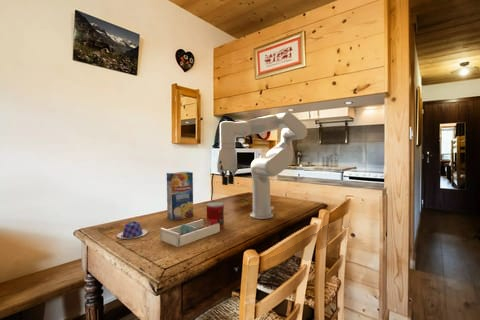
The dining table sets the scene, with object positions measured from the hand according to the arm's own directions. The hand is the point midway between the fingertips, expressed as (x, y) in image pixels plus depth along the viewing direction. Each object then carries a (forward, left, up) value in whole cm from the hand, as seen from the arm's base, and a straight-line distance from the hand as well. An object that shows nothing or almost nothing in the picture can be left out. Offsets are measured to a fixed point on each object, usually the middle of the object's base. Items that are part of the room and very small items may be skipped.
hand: (228, 184), depth 119 cm
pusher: (+25, 0, -19) cm, 32 cm away
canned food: (+9, 0, -19) cm, 21 cm away
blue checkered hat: (+38, -21, -20) cm, 48 cm away
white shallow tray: (+23, 0, -19) cm, 30 cm away
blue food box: (+8, -28, -19) cm, 35 cm away
